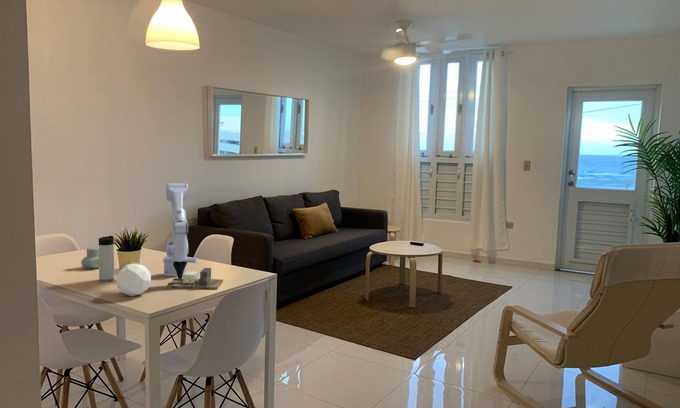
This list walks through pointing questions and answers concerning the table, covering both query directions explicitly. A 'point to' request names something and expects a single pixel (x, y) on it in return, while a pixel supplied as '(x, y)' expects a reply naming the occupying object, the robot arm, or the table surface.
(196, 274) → the block
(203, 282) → the base
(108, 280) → the travel mug
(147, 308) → the table surface
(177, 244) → the robot arm
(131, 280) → the geodesic sphere
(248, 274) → the table surface
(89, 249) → the air freshener
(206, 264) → the table surface
